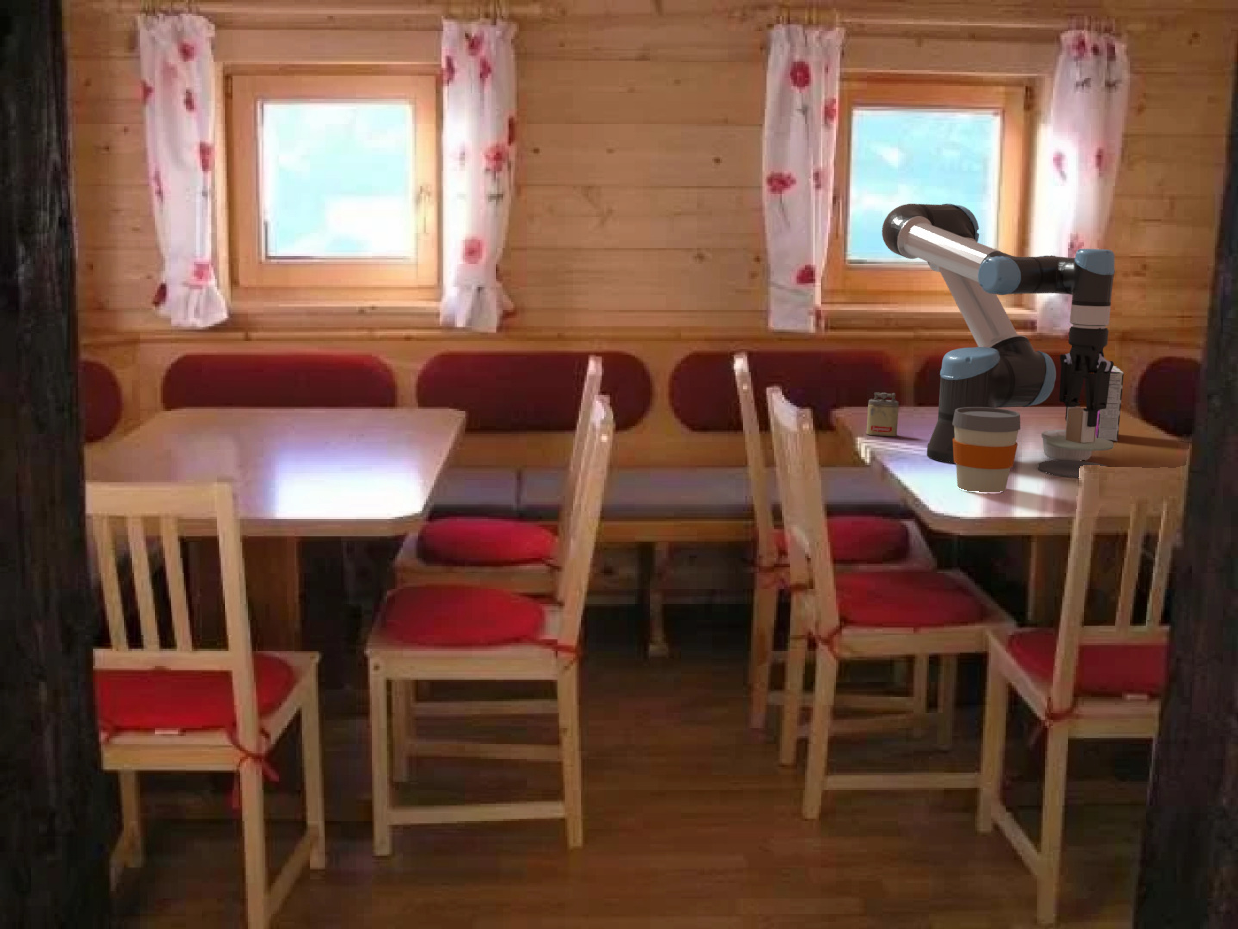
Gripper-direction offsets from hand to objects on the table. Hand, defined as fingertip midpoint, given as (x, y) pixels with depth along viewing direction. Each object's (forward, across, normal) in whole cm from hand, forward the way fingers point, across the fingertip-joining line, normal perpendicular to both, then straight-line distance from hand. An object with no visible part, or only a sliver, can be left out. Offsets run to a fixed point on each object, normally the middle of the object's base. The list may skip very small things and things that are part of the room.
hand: (1079, 439), depth 277 cm
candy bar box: (+7, +31, -34) cm, 47 cm away
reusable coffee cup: (+7, -9, +30) cm, 32 cm away
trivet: (+7, 0, 0) cm, 7 cm away
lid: (+1, 0, 0) cm, 1 cm away
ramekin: (+7, +13, -8) cm, 17 cm away
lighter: (+7, +47, +17) cm, 51 cm away
